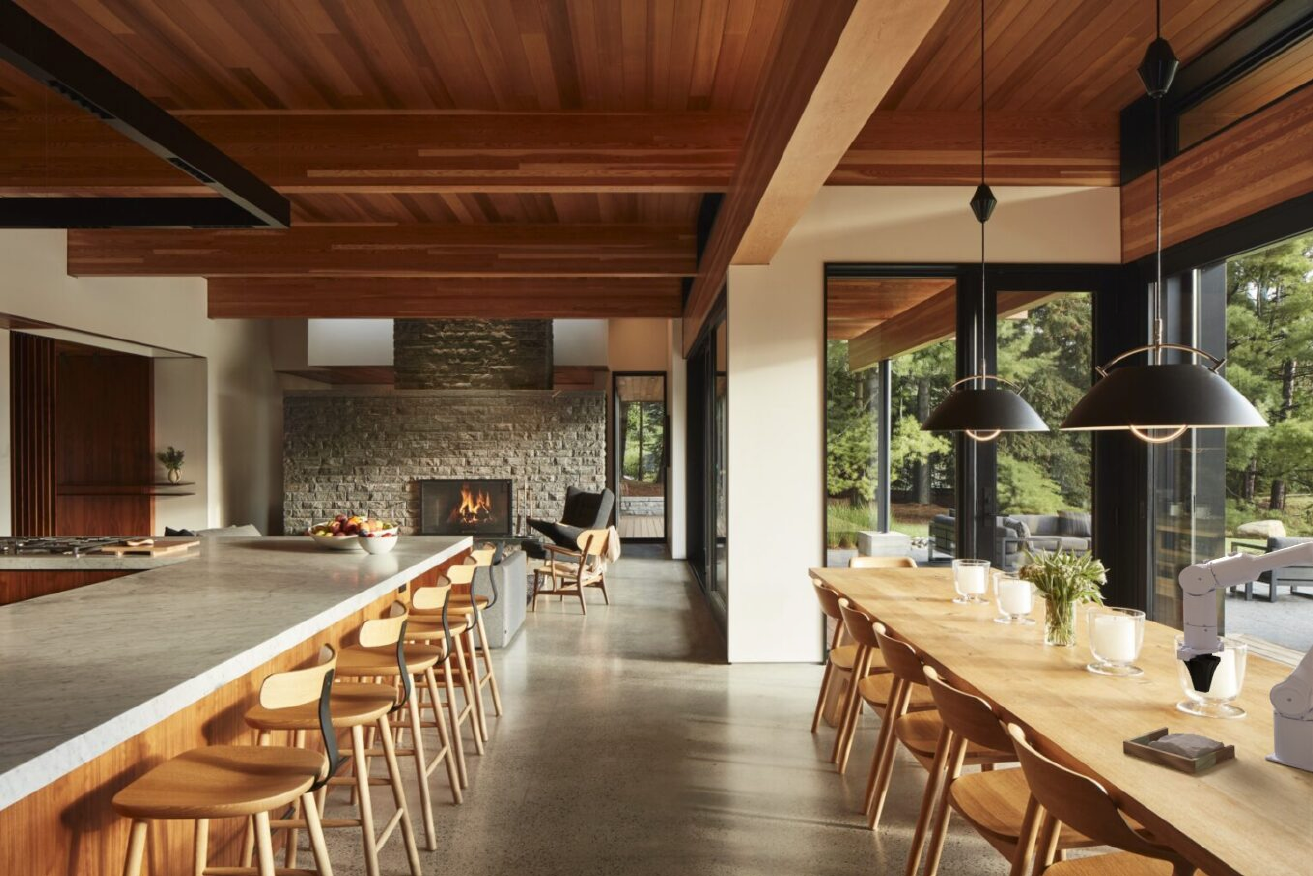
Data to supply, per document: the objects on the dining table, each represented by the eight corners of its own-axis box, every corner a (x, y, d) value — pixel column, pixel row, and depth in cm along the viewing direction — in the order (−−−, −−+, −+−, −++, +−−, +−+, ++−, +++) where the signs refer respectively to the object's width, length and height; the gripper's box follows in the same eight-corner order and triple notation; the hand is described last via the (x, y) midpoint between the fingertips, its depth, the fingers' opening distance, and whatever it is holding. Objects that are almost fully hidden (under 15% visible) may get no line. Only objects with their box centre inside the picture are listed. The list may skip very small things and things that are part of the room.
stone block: (1145, 766, 160) (1199, 772, 152) (1139, 740, 161) (1193, 744, 153) (1177, 756, 166) (1231, 761, 158) (1172, 731, 167) (1225, 734, 159)
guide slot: (1234, 757, 158) (1234, 745, 158) (1192, 773, 151) (1192, 761, 151) (1165, 738, 169) (1165, 727, 170) (1123, 752, 162) (1122, 741, 162)
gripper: (1197, 616, 175) (1199, 681, 175) (1160, 624, 168) (1161, 692, 167) (1234, 622, 169) (1236, 689, 169) (1197, 631, 161) (1199, 701, 161)
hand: (1201, 691), depth 168 cm, fingers closed
